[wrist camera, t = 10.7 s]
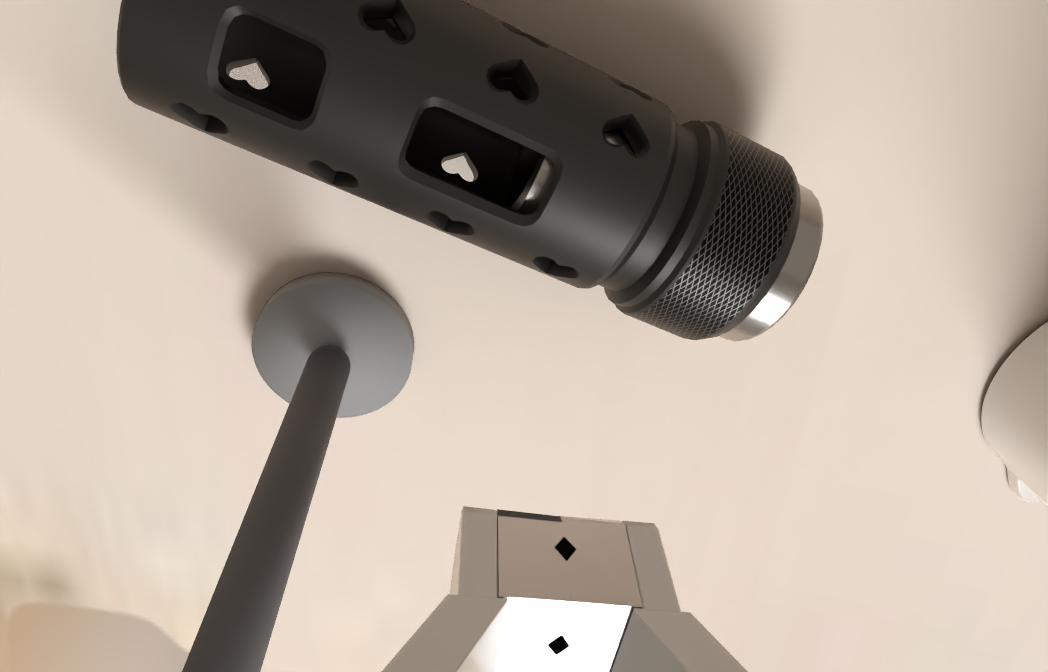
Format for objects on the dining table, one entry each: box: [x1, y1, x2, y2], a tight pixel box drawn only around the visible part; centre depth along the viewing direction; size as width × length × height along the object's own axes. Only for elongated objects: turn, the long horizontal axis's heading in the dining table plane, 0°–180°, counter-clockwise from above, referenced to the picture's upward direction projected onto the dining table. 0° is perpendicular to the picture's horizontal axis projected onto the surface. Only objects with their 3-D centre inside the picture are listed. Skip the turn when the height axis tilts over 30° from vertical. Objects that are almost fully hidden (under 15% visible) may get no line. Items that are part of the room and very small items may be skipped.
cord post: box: [182, 273, 414, 672], centre depth 32 cm, size 9×9×24 cm
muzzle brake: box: [116, 0, 823, 341], centre depth 31 cm, size 10×28×10 cm, turn 64°
